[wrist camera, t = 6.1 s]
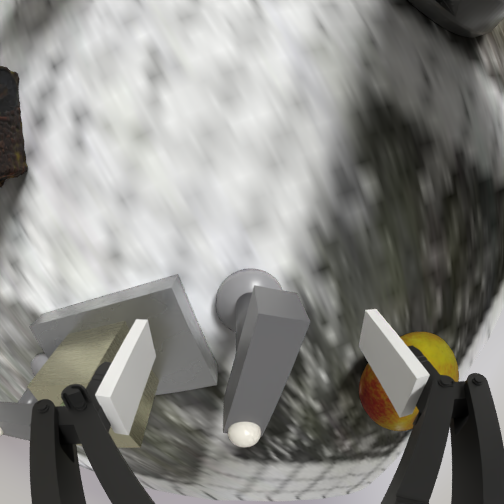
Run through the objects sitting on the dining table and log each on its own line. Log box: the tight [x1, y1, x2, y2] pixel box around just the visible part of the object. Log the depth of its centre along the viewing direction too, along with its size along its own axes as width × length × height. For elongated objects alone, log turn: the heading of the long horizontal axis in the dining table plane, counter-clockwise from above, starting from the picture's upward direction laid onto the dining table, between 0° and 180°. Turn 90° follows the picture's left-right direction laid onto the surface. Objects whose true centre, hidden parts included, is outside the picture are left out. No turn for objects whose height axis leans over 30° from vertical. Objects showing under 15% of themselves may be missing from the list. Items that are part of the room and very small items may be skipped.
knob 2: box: [216, 269, 310, 447], centre depth 17 cm, size 8×5×10 cm, turn 167°
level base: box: [27, 274, 218, 448], centre depth 17 cm, size 15×9×11 cm, turn 106°
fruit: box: [359, 332, 459, 431], centre depth 21 cm, size 10×9×8 cm
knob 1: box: [0, 353, 48, 441], centre depth 18 cm, size 8×5×10 cm, turn 106°
